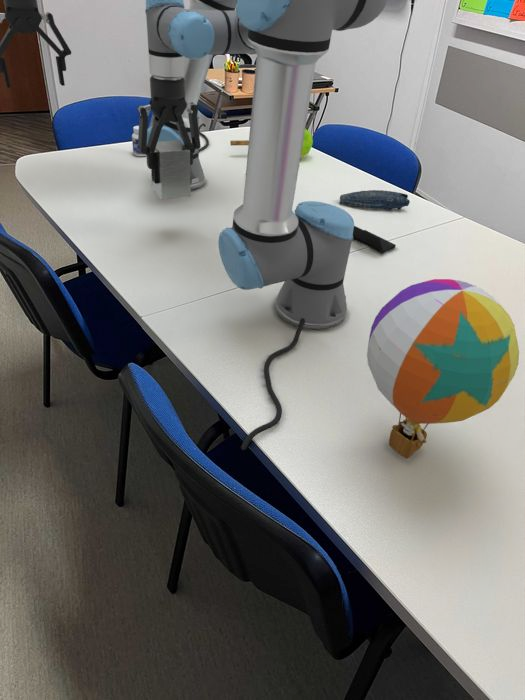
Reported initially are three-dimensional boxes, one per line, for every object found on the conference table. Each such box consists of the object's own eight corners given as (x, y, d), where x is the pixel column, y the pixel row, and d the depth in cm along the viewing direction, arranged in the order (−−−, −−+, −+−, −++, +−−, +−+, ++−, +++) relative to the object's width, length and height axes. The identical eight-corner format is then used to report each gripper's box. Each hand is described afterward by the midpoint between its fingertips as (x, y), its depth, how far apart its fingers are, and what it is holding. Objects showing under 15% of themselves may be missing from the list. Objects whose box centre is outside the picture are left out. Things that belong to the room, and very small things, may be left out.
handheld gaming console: (400, 239, 139) (392, 217, 131) (388, 262, 138) (379, 241, 130) (362, 231, 145) (352, 209, 137) (350, 252, 144) (340, 232, 136)
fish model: (408, 214, 157) (412, 198, 153) (339, 207, 158) (341, 191, 154) (406, 206, 162) (410, 190, 159) (339, 199, 163) (341, 183, 160)
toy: (318, 439, 84) (351, 278, 65) (393, 389, 94) (440, 239, 76) (417, 524, 73) (492, 360, 54) (489, 457, 83) (573, 301, 65)
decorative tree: (227, 120, 186) (308, 120, 191) (227, 150, 193) (305, 149, 198) (234, 135, 173) (321, 134, 178) (234, 166, 179) (317, 165, 184)
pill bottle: (130, 154, 179) (128, 127, 174) (138, 150, 183) (136, 124, 178) (143, 157, 178) (142, 130, 173) (151, 153, 182) (150, 126, 176)
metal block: (190, 196, 128) (189, 149, 121) (162, 199, 125) (159, 152, 118) (179, 185, 133) (178, 139, 126) (152, 188, 130) (149, 142, 123)
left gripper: (68, -12, 132) (80, 80, 145) (-42, -16, 122) (-18, 83, 135) (75, -8, 127) (87, 86, 140) (-39, -12, 117) (-14, 90, 130)
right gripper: (203, 71, 119) (203, 170, 134) (116, 73, 111) (125, 178, 125) (216, 79, 114) (215, 180, 129) (126, 81, 106) (135, 190, 120)
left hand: (35, 85), depth 138 cm, fingers open, 13 cm apart
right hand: (170, 179), depth 127 cm, fingers closed on metal block, 7 cm apart
